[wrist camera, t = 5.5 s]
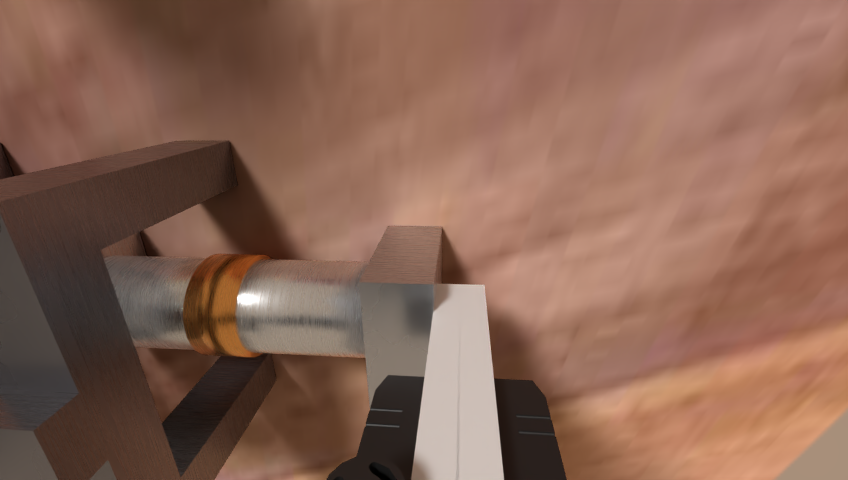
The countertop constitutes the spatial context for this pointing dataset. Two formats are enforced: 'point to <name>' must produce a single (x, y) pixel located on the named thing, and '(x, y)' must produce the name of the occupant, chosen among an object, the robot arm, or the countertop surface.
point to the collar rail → (104, 325)
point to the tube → (287, 302)
